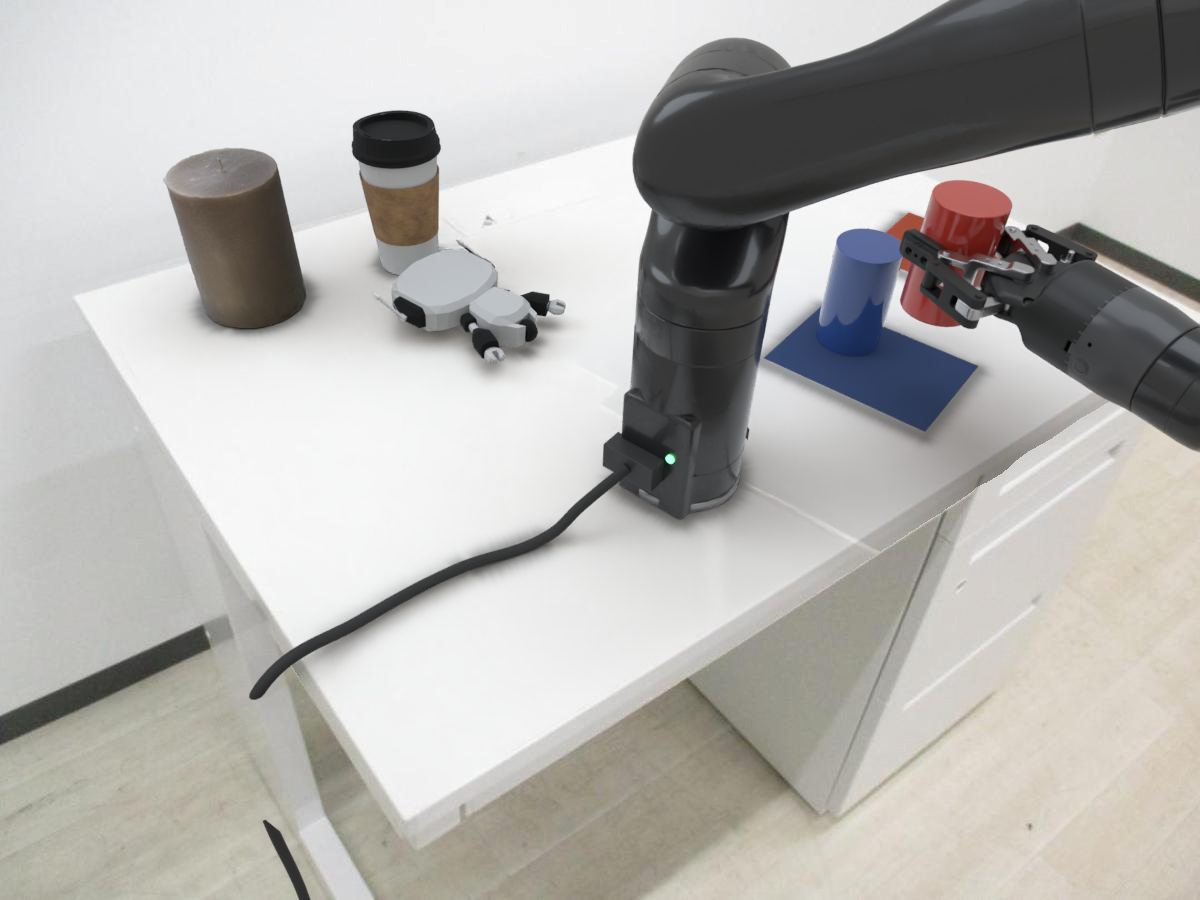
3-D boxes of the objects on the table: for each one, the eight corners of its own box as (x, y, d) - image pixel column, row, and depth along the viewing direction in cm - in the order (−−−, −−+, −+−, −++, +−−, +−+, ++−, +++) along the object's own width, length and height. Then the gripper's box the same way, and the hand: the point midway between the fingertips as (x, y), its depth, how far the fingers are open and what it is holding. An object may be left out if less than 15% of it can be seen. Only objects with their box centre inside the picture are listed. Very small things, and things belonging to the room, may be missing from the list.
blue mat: (923, 436, 81) (925, 431, 81) (762, 362, 88) (763, 357, 88) (976, 370, 88) (978, 365, 88) (824, 307, 95) (825, 302, 95)
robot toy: (572, 328, 93) (454, 268, 98) (575, 289, 89) (453, 230, 95) (493, 392, 85) (370, 324, 90) (494, 353, 82) (366, 284, 87)
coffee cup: (351, 266, 98) (328, 126, 88) (405, 232, 103) (389, 96, 93) (415, 292, 95) (398, 150, 85) (466, 255, 100) (456, 117, 90)
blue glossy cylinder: (861, 364, 87) (886, 271, 81) (804, 339, 90) (824, 247, 83) (889, 335, 91) (916, 243, 84) (833, 312, 94) (855, 221, 87)
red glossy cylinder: (955, 336, 76) (995, 225, 70) (887, 308, 79) (919, 199, 72) (983, 305, 80) (1024, 196, 73) (917, 279, 83) (950, 172, 76)
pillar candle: (318, 313, 92) (288, 169, 82) (215, 340, 88) (170, 192, 78) (291, 265, 98) (260, 125, 88) (193, 288, 94) (149, 145, 84)
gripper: (1195, 264, 67) (1008, 167, 77) (1064, 320, 61) (880, 208, 72) (1150, 349, 72) (979, 248, 83) (1024, 409, 66) (858, 292, 77)
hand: (934, 230), depth 77 cm, fingers closed on red glossy cylinder, 6 cm apart
